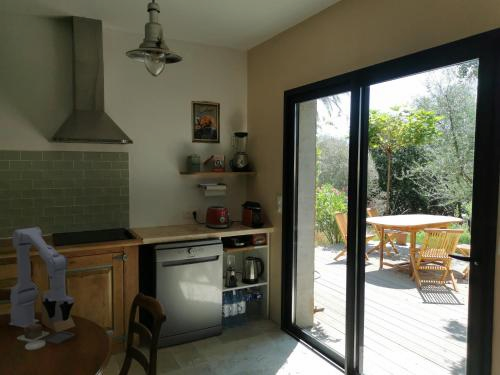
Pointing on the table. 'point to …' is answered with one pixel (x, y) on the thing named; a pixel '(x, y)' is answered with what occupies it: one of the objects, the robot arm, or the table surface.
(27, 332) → the walnut cube
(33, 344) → the coaster
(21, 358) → the table surface
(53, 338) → the grey square tile
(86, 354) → the table surface
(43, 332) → the pale green square tile
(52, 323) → the sandwich container
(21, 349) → the table surface
